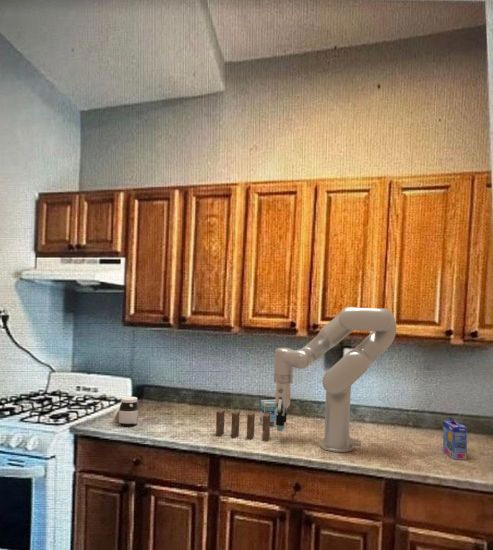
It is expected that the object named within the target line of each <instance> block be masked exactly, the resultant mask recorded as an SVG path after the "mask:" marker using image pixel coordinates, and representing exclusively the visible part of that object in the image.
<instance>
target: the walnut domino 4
mask: <svg viewBox="0 0 493 550" xmlns="http://www.w3.org/2000/svg"><path fill="white" fill-rule="evenodd" d="M270 432H271V427H270V413H265V414H264V415H263V425H262V435H261V436H262V441H263V442H268V441H269V439H270V436H271V435H270Z"/></svg>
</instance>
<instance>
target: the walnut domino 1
mask: <svg viewBox="0 0 493 550" xmlns="http://www.w3.org/2000/svg"><path fill="white" fill-rule="evenodd" d="M225 411H226V410H225V409H224V408H223V409H222V408H220V409H219V410H217V411H216V422H215V423H216V424H215V437H222V436H223V435H224V434H225V414H226V412H225Z"/></svg>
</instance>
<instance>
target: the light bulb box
mask: <svg viewBox="0 0 493 550" xmlns="http://www.w3.org/2000/svg"><path fill="white" fill-rule="evenodd" d="M259 411H260V416H259V424H261V426H263V415H264V414H265V413H270V428H271V427H276V428H277V425H276V415H277V408H276V407H275V399H260V410H259ZM286 424H287V421H286V422H284V427H286Z"/></svg>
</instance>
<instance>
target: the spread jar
mask: <svg viewBox="0 0 493 550" xmlns="http://www.w3.org/2000/svg"><path fill="white" fill-rule="evenodd" d="M120 402H121V403H120V405H119V407H117V408H116V410H115V411H114V412H113V414H112V421H113V422H115V423H118V424H119V426H120V427H124V428H134V427H136V426H137V425H138V423H139V403H138V397H136V396H122V397H121V401H120Z"/></svg>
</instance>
